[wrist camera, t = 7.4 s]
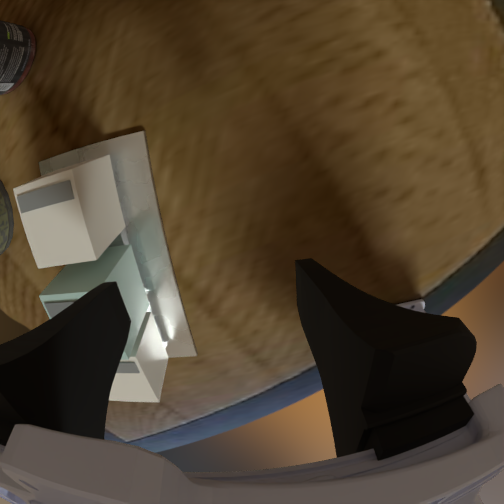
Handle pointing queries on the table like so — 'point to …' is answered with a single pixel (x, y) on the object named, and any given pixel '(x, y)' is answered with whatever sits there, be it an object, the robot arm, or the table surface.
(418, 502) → the robot arm
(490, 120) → the table surface
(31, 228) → the mounted modules
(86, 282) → the block
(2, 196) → the thermos
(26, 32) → the supplement bottle
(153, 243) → the rail panel
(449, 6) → the table surface
